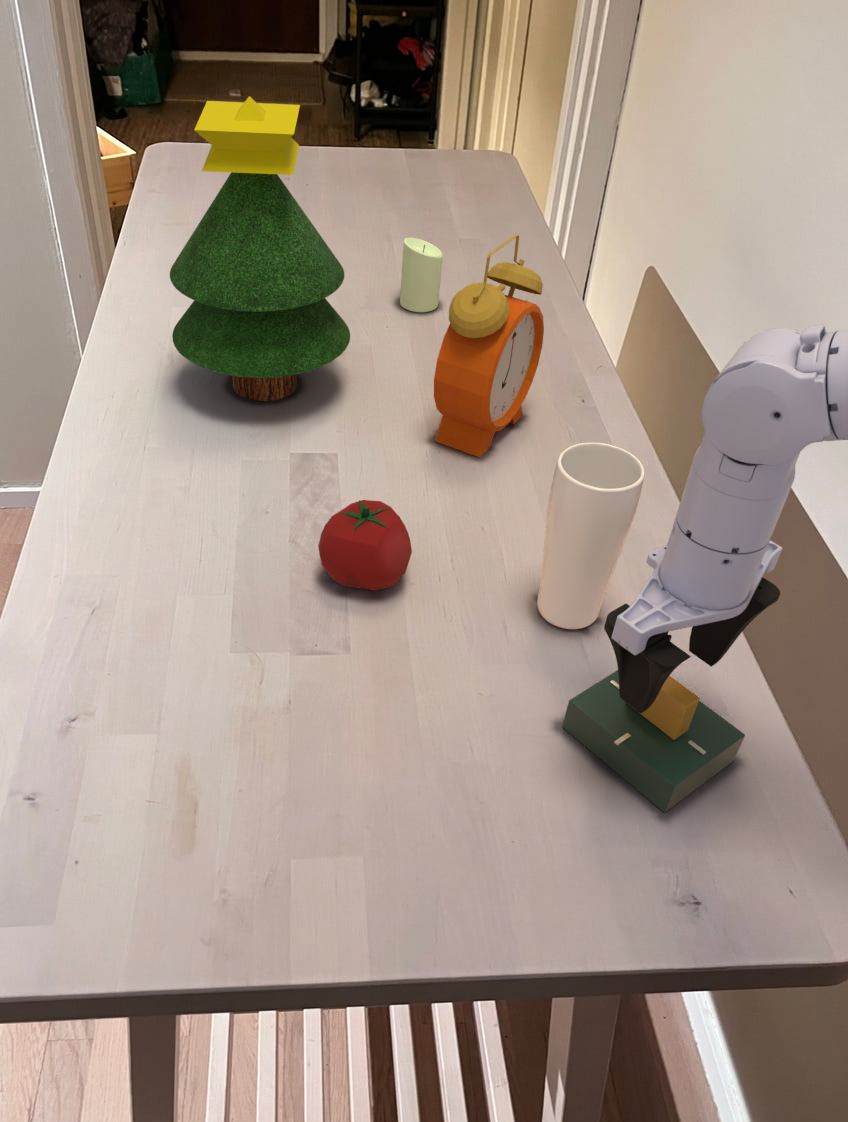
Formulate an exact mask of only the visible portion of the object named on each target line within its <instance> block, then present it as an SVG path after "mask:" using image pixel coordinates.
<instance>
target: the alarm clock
mask: <svg viewBox="0 0 848 1122" xmlns="http://www.w3.org/2000/svg"><path fill="white" fill-rule="evenodd" d="M513 240H515V244H514V254H513V262H514V263H512V262H507V261H504V262H497V263H496V264H494V265H493V266H492V267H491V268H489V267H490V261H491V257H492V255H494V254H495V253H496V252H497V251H499V250H500V249H502V248H504V247H505V246H506V245H508V244H509V243H510V242H511V241H513ZM519 241H520V235H519V234H514V235H513V236H511V237H510V238H509V239H507V240H506V241H504V242H503V243H502V244H500V245H499V246H498V247H496V248H494V249H493V250H491V251H490V252H488V254H487V257H486V263H485V269H484V276H483V282H475V283H471V284H468V285H466V286H464V287H463V288H461V289H460V290H458V291H457V293H455V295H454V296H453V297H452V299H451V302H450V304H449V307H448V321H449V324H448V327H447V329H446V332H445V334H444V336H443V338H442V342H441V346H440V349H439V351H438V355H437V359H436V365H435V371H434V376H433V399H434V404H435V407H436V410H437V411H438V412H439V413H440V414H441V415H442V416H441V419H440V423H439V426H438V430H437V433H436V437H435V441H434V442H436V443H439V444H442V445H444V446H447V447H450V448H452V449H456V450H458V451H461V452H464V453H465V454H469V455H472V456H475V457H478V458H482V457H483V456H484V455H485V453H487V452H488V451H489V450H490V447H491V445H492V441H493V439H494V436H495V433H496V432H499V431H501V430H502V429H504V428H506V427H507V426H508V425H509V424H512V425H515V424H516V423H518V421H519V420H520V419H521V418H522V417H523V408H522V405H523V403H524V401H525V400H526V397H527V395H528V393H529V391H530V388H531V386H532V384H533V381H534V378H535V376H536V372H537V370H538V367H539V362H540V358H541V354H542V350H543V342H544V333H545V325H544V324H545V323H544V322H545V321H544V314H543V313H542V310H541V308H540V306H538V304H537V303H534V302H531V301H527V300H524V299H521V298H517V297H514V294H515V291H516V290H519V291H522V292H526V293H529V294H534V295H540V296H541V295H542V293H543V287H544V286H543V285H544V284H543V281H542V277H541V275H539V273H537V272H536V271H535V270H533V269H531V268H529V267H526V266H524V264H525V260H524V259H522V258H521V259H519V261H518V251H519ZM488 279H489V280H491V281H493V282H496V283H498V284H499V285H497V286H496V285H493V284H492V283H487V281H488ZM506 287H510V288H509V291H508V293H507V294H505V293H504V291H505V289H506Z"/></svg>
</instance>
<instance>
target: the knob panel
mask: <svg viewBox="0 0 848 1122" xmlns="http://www.w3.org/2000/svg"><path fill="white" fill-rule="evenodd" d="M689 690H690V691H691V692H692V693H694V694H695V695H696V693H697V691H696V690H695V689H694V688H691V689H689ZM565 710H566V711H565V714H564V719H563V723H562V726H561V727H562V728H563V729H564V730H565V731H567V732H568V733H569V734H570V735H571V736H572V737H574V738H575V739H576V740H577V741H578V742H579V743H581V744H582V745H583V746H584V747H585V748H586V749H588V750H589V751H590V752H591V753H592V754H594V756H596V757H598V758H599V760H601V761H602V762H603V763H604V764H606V766H608V767H609V768H611V769H612V770H613V771H614V772H615V773H616V774H618V775H619V776H620V777H621V778H622V779H623V780H624V781H626V782H627V783H628V784H630V785H631V786H632V787H633V788H634V789H635V790H637V791H638V792H639V793H640V794H641V795H643V796H644V797H645V798H646V799H647V800H648V801H650V802H651V803H652V804H653V805H654V806H656V807H657V808H658V809H659V810H660V811H661V812H663V813H666V812H668V811H669V810H671V809H672V808H673V807H675V806H676V805H677V804H678V803H680V802H681V801H683V800H684V799H685V798H686V797H688V796H689V795H690V794H692V793H693V792H694V791H696V790H697V789H699V787H701V786H702V785H704V784H705V783H707V782H708V781H709V780H710V779H712V778H713V777H714V776H717V774H718V773H720V772H721V771H723V770H724V769H725V768H726V767H727V766H729V765H730V764H732V763H733V762H734V760H735V758H736V757H737V755H738V752H739V750H740V748H741V746H742V743H743V741H744V738H745V736H746V734H745V733H744V732H742V731H741V730H740V729H738V728H737V727H735V726H734V725H733V724H732V723H730V722H729V721H728V720H726V719H725V718H723V717H722V716H721V715H720V714H718V713H717V712H715V711H714V710H713V709H712V708H710V707H709V706H707V705H706V704H705V703H703V702H702V701H700V700H699V703H698V705H697V708H696V711H695V713H694V716H693V718H692V721H691V723H690V726H689V729H688V731H687V732H685V733H684V734H682V735H681V736H680V737H678V738H677V739H675V740H673V739H672V738H670V737H669V736H668V735H667V734H665V733H664V732H663V731H661V730H660V729H659V728H658V727H656V726H655V725H654V724H653V723H651V722H650V721H649V720H647V719H646V718H645V717H644V716H642V715H641V714H640V713H638V712H637V711H636V710H635V709H633V708H632V707H631V706H630V705H628V704H627V703H626V702H625V701H624V700H623V699H621V698H620V694H619V675H618V669H617V670H615V671H613V672H612V673H611V674H609V675H607V676H605V677H604V678H602V679H601V680H599V681H597V682H596V683H594V684H592V685H591V686H590V687H588V688H587V689H585V690H583V691H582V692H580V693H578V694H577V695H575V696H573V697H572V698H570V699H569V700H568V702H567V705H566V709H565Z"/></svg>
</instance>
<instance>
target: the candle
mask: <svg viewBox="0 0 848 1122" xmlns="http://www.w3.org/2000/svg"><path fill="white" fill-rule="evenodd" d="M402 244H403V246H402V247H403V248H402V260H401V261H402V262H401V276H400V277H401V278H400V292H399V293H400V295H399V304H400V307H402V308H403V309H404V310H407V311H408V312H411V313H413V312H414V313H429V312H432V311H434V310H436V309H437V308H438V306H439V300H440V288H441V281H442V280H441V279H442V269H443V260H444V259H443V257H444V255H443V251H442V250H440V248H438V247H437V246H436V245H434V244H432V243H430V242H429V241H426V240H423V239H420V238H416V237H405V238H404V239H403V243H402Z"/></svg>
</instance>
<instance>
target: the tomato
mask: <svg viewBox="0 0 848 1122" xmlns="http://www.w3.org/2000/svg"><path fill="white" fill-rule="evenodd" d="M411 543H412V542H411V538H410V535H409V531H408V529H407V526H406V525H405V523H404V521H403V520H402V518H401V517H400V515H399V514H397V512H396V511H395V510H394V509H393V507H392V506H390V505H388V504H387V503H385V502H383V501H382V500H372V499H371V500H369V499H359V500H358V501H355V502H352V503H350V504H348V505H347V506H346V507H343V509H341V510H339V511H338V512H335V514H333V515H332V516H331V517H329V519H328V521H327V522H326V523H325V524H324V526H323V528H322V531H321V533H320V537H319V541H318V545H317V546H318V555H319V558H320V562H321V567H322V568H323V569H324V570H325V571H326V572H327V574H328V575H329V576H330V578H331V579H332V580H333V581H335V582H336V583H338V584H340V585H342V586H344V587H349V588H356V589H363V590H368V591H370V590H371V591H378V590H383V589H384V590H385V589H387V588H391V587H392V586H394V585H395V584H396V583H397V582H398V581H399V580H400V579H401V578H403V576H404V575H405V574H406V572H407V570H408V567H409V563H410V559H411V557H412V554H413V550H412V544H411Z"/></svg>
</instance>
